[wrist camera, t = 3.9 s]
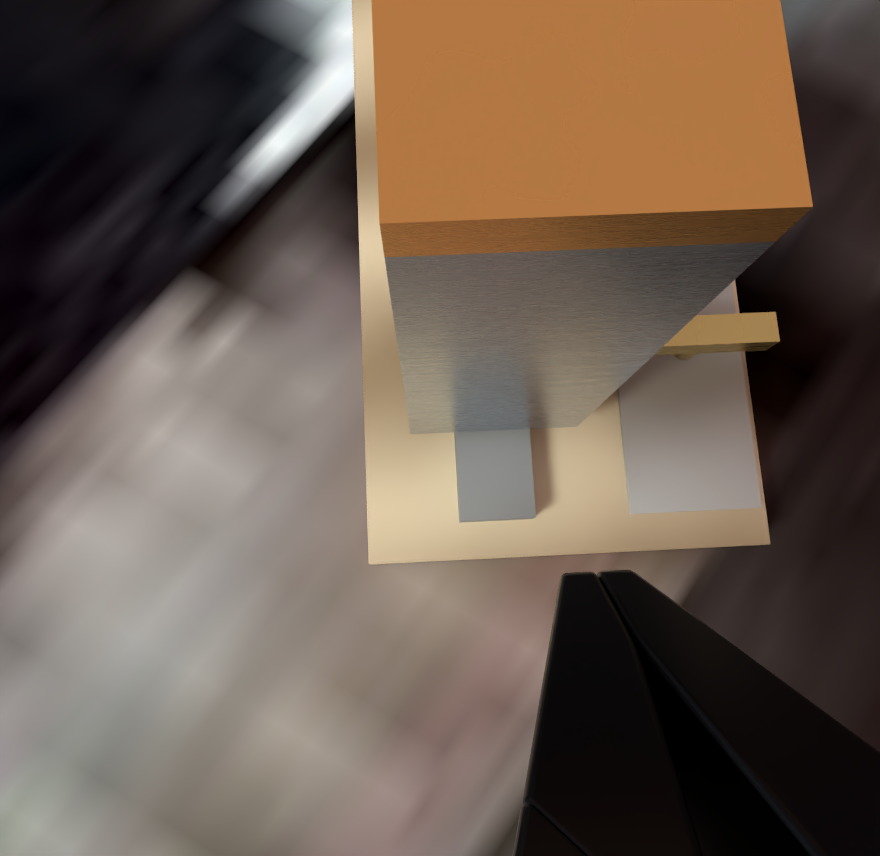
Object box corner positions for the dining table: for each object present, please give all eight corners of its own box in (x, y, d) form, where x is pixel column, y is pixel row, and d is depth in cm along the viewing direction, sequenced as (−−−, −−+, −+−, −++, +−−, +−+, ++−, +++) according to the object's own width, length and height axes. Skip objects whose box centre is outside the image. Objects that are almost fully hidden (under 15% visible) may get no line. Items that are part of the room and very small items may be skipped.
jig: (751, 545, 21) (1363, 509, 7) (372, 564, 20) (258, 564, 7) (665, -118, 25) (945, -928, 11) (351, -109, 25) (256, -926, 11)
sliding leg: (761, 422, 20) (1309, 187, 7) (410, 438, 19) (379, 223, 7) (740, 271, 20) (1204, -165, 8) (404, 285, 20) (365, -142, 8)
